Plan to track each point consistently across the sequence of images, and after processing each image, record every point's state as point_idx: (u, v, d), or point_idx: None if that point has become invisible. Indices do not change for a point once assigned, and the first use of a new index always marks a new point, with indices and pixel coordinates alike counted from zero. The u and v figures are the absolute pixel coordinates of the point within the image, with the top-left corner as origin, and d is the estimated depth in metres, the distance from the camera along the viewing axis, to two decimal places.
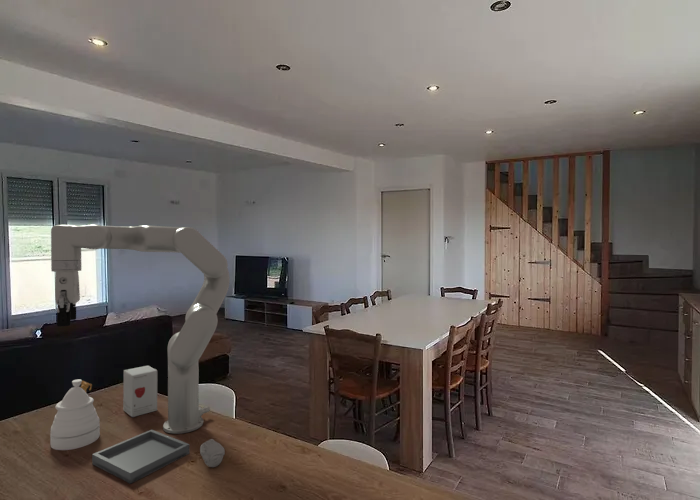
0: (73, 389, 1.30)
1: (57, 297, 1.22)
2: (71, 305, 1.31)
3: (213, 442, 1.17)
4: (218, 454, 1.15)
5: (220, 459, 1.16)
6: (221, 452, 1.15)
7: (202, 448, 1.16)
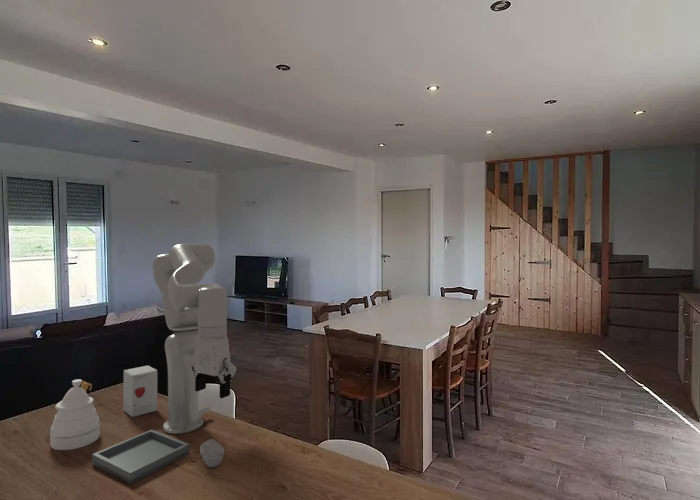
0: (73, 389, 1.30)
1: None
2: None
3: (213, 442, 1.17)
4: (218, 454, 1.15)
5: (220, 459, 1.16)
6: (221, 452, 1.15)
7: (202, 448, 1.16)
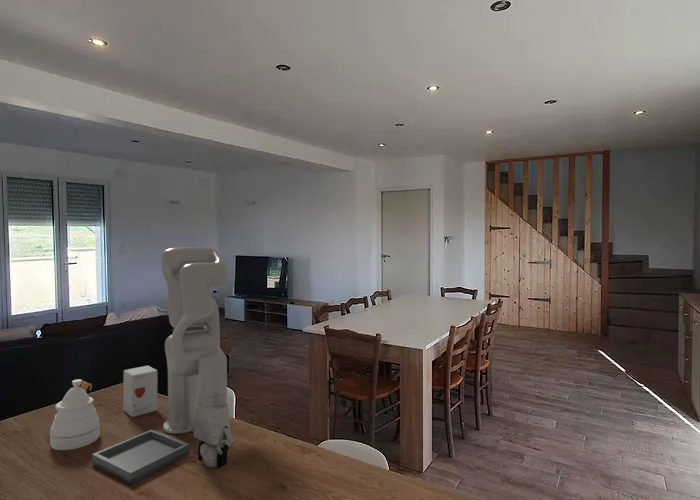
0: (73, 389, 1.30)
1: None
2: None
3: None
4: None
5: None
6: None
7: (202, 448, 1.16)
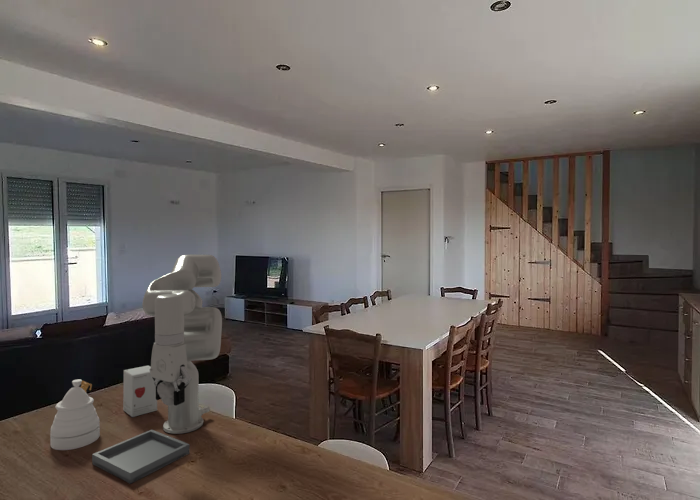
0: (73, 389, 1.30)
1: None
2: None
3: None
4: None
5: None
6: None
7: (159, 387, 1.18)
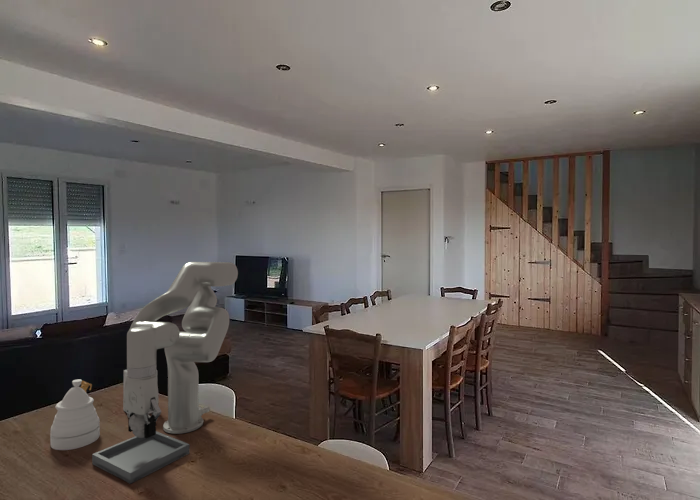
0: (73, 389, 1.30)
1: None
2: None
3: None
4: None
5: None
6: None
7: (131, 419, 1.19)
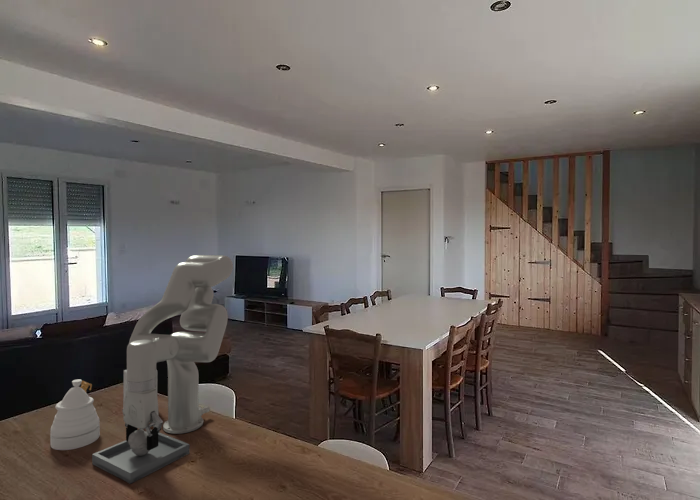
0: (73, 389, 1.30)
1: None
2: None
3: (141, 431, 1.20)
4: (145, 443, 1.18)
5: None
6: None
7: (130, 437, 1.19)
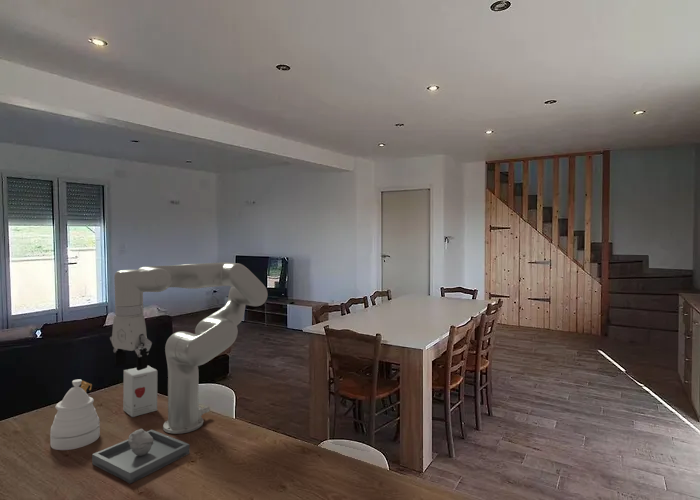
0: (73, 389, 1.30)
1: None
2: None
3: (141, 431, 1.20)
4: (145, 443, 1.18)
5: (148, 448, 1.19)
6: (148, 441, 1.19)
7: (130, 437, 1.19)
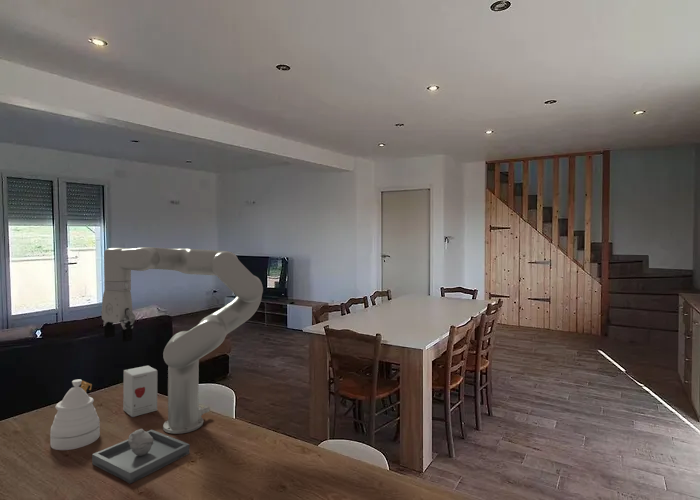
0: (73, 389, 1.30)
1: None
2: None
3: (141, 431, 1.20)
4: (145, 443, 1.18)
5: (148, 448, 1.19)
6: (148, 441, 1.19)
7: (130, 437, 1.19)
